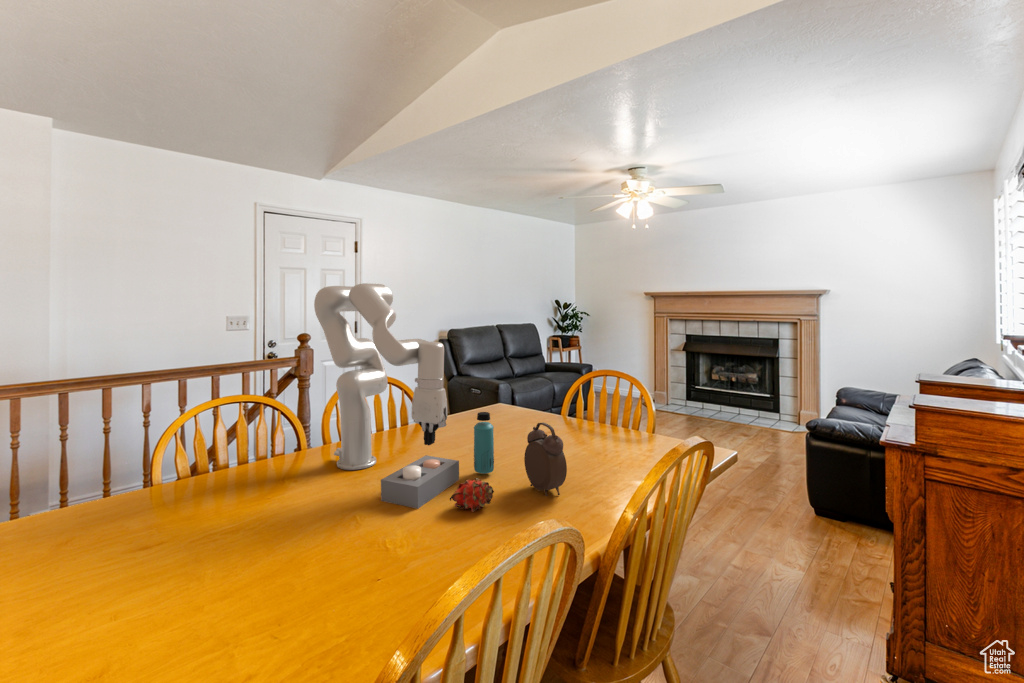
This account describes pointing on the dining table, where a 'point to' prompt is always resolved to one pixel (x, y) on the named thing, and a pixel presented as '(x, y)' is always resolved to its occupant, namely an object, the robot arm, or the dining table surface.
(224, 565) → the dining table surface
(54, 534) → the dining table surface
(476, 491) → the dragon fruit
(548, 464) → the alarm clock
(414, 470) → the white rounded piece
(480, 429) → the beverage bottle
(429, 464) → the brown egg
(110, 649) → the dining table surface
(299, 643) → the dining table surface
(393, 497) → the grey rectangular block
